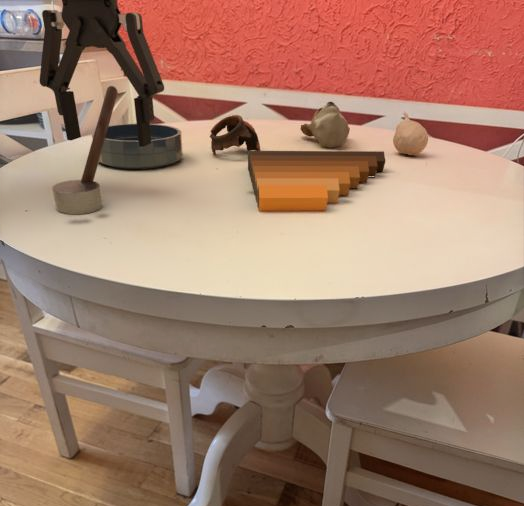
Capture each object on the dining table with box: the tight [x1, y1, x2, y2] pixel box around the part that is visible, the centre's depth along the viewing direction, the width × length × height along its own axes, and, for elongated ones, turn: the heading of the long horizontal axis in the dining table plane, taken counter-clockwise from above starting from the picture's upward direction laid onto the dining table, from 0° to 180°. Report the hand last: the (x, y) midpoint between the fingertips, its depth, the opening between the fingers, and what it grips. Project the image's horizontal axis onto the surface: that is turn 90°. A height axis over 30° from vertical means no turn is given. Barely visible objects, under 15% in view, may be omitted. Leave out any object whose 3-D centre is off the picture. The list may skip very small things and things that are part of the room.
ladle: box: [51, 85, 119, 215], centre depth 73 cm, size 18×6×14 cm, turn 166°
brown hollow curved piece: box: [209, 114, 261, 156], centre depth 100 cm, size 12×10×8 cm
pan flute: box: [247, 150, 386, 212], centre depth 83 cm, size 25×3×25 cm
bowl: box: [91, 123, 184, 170], centre depth 94 cm, size 16×16×5 cm
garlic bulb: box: [392, 111, 429, 156], centre depth 103 cm, size 7×6×8 cm
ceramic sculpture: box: [300, 101, 351, 149], centre depth 110 cm, size 11×9×15 cm
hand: (109, 141), depth 77 cm, fingers open, 11 cm apart
